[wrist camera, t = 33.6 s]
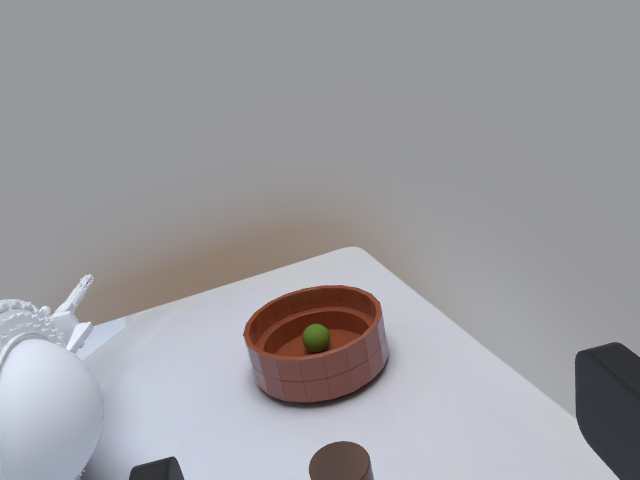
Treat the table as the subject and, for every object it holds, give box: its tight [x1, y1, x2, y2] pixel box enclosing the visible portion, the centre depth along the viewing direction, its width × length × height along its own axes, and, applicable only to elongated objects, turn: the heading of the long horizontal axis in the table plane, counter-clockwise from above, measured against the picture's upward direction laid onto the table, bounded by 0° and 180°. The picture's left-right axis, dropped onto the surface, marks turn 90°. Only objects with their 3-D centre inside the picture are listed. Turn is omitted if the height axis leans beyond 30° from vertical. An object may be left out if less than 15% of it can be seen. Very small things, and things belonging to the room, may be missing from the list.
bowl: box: [243, 285, 388, 403], centre depth 61 cm, size 15×15×6 cm
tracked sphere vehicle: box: [0, 274, 104, 480], centre depth 52 cm, size 35×14×20 cm, turn 6°
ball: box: [302, 324, 330, 352], centre depth 63 cm, size 3×3×3 cm
